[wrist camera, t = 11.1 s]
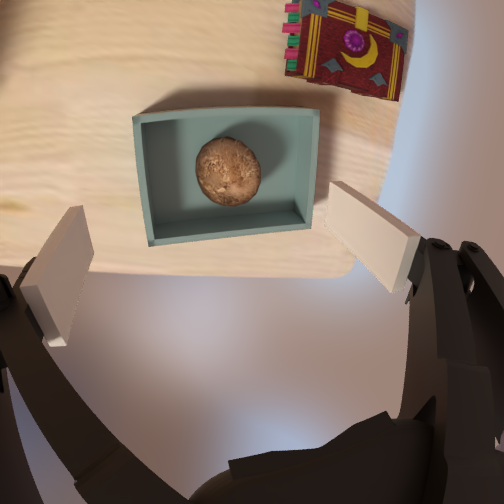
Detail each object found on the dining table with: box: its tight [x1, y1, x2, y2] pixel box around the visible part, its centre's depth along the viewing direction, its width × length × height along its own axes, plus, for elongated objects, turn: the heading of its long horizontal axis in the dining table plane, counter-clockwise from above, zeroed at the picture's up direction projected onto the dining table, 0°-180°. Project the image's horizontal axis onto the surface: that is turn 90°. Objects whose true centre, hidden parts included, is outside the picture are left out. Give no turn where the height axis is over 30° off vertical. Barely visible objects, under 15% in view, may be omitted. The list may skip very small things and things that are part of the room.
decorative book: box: [282, 0, 408, 102], centre depth 28 cm, size 11×16×5 cm
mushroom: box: [195, 136, 261, 207], centre depth 32 cm, size 8×8×6 cm
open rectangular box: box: [132, 105, 320, 247], centre depth 33 cm, size 20×15×5 cm
